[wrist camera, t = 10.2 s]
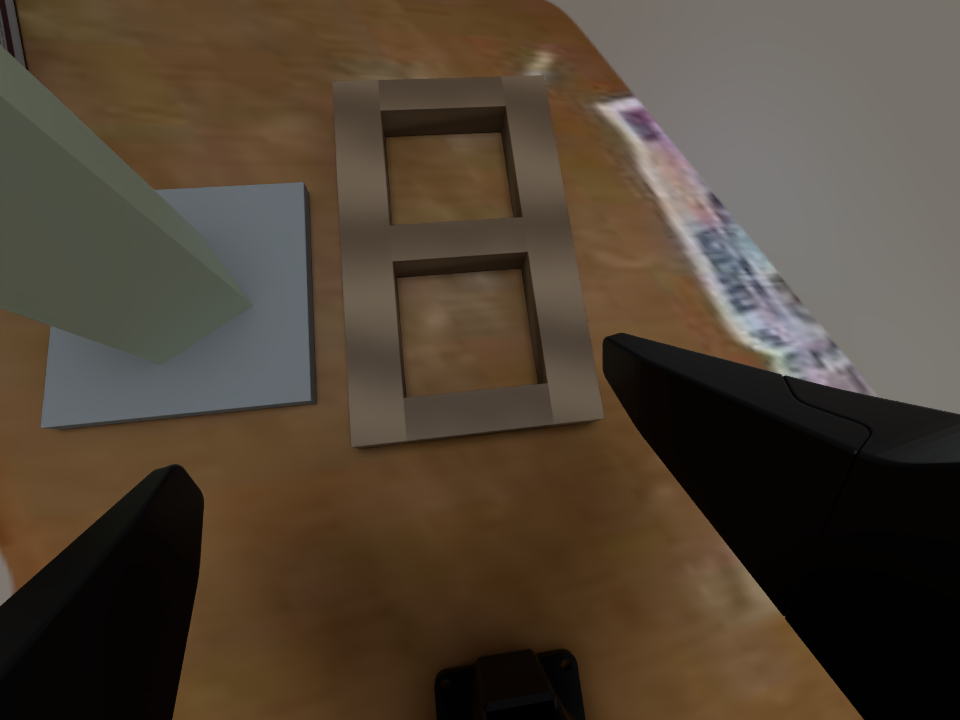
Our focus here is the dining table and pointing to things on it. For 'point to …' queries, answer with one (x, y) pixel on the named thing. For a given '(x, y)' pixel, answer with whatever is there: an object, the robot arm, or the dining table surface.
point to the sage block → (97, 236)
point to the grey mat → (226, 351)
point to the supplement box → (10, 31)
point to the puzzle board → (457, 259)
